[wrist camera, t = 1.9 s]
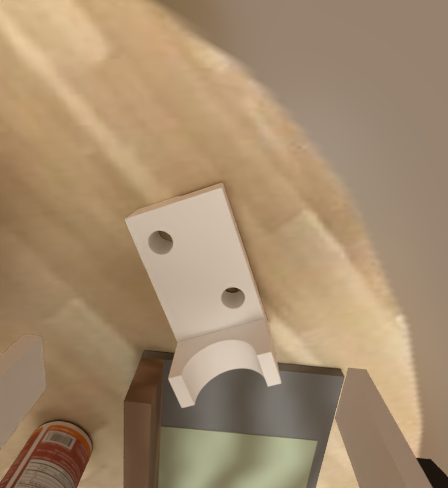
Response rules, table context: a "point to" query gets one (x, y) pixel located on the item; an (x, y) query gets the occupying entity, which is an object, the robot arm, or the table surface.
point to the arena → (228, 428)
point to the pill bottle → (50, 458)
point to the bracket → (204, 289)
